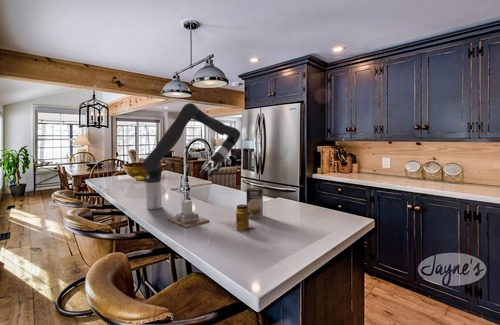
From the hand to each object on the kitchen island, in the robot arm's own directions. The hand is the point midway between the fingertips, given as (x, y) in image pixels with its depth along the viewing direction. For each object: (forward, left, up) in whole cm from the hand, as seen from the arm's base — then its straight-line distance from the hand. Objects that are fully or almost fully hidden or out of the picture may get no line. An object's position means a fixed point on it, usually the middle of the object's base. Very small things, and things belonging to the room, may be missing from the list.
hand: (204, 175), depth 153 cm
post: (+4, -15, -22) cm, 27 cm away
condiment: (+36, -3, -23) cm, 43 cm away
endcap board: (+4, -15, -23) cm, 27 cm away
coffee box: (+26, +15, -23) cm, 38 cm away
